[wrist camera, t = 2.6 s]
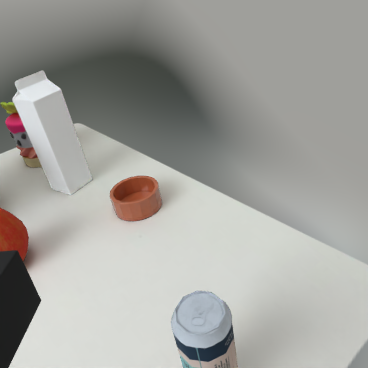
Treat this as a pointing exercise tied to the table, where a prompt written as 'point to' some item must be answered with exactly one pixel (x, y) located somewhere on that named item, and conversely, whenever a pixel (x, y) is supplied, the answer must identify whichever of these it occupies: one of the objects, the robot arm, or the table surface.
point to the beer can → (204, 331)
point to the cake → (20, 136)
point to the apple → (13, 234)
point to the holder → (136, 198)
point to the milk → (51, 132)
